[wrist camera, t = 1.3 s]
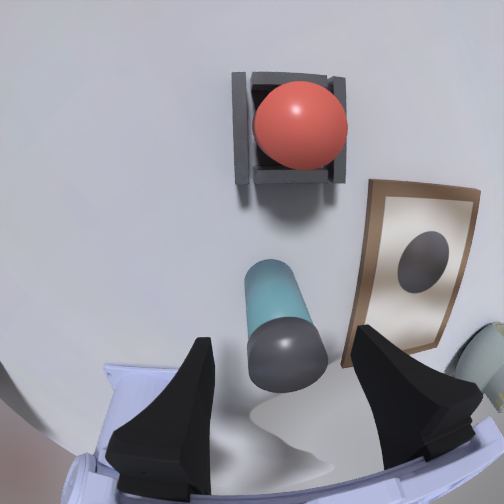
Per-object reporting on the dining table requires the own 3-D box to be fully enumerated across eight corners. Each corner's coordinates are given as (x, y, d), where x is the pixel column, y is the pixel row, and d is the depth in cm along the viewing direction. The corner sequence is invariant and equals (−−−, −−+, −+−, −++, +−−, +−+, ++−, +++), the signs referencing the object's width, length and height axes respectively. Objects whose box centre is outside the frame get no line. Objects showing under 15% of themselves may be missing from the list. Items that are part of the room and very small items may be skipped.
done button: (325, 163, 15) (346, 171, 12) (253, 163, 15) (258, 170, 12) (325, 94, 13) (346, 85, 10) (251, 91, 13) (255, 79, 10)
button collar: (333, 177, 16) (345, 183, 15) (235, 178, 16) (235, 184, 14) (333, 83, 14) (345, 77, 12) (232, 79, 14) (231, 72, 12)
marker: (294, 302, 20) (322, 388, 13) (244, 305, 20) (249, 395, 12) (296, 256, 18) (333, 335, 11) (241, 259, 18) (247, 342, 11)
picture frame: (434, 343, 23) (437, 348, 23) (340, 363, 23) (343, 369, 22) (476, 189, 17) (482, 191, 16) (369, 178, 17) (374, 181, 16)
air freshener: (437, 371, 26) (474, 430, 17) (474, 314, 23) (526, 371, 13) (477, 367, 27) (510, 412, 18) (508, 320, 24) (549, 363, 15)
